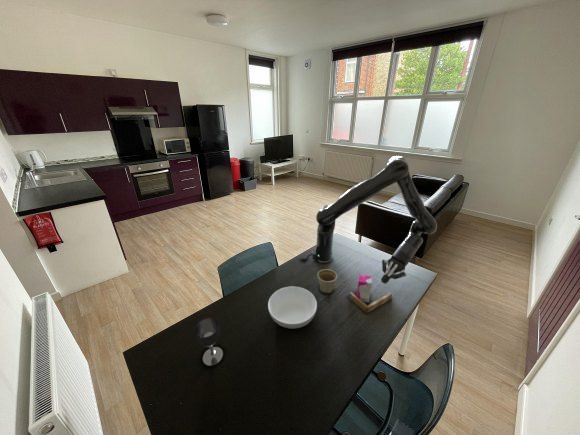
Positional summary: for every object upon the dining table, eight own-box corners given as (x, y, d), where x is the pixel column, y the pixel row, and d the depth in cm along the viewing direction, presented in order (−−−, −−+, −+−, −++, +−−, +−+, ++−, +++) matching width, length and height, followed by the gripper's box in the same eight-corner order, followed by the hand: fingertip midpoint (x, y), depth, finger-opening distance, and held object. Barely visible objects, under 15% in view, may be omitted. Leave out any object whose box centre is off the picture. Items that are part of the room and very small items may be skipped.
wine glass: (212, 371, 82) (205, 341, 76) (196, 359, 86) (189, 330, 80) (228, 352, 88) (223, 323, 82) (213, 342, 92) (208, 314, 86)
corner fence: (366, 313, 105) (367, 308, 103) (349, 298, 113) (349, 293, 112) (391, 298, 112) (392, 294, 111) (373, 285, 121) (374, 280, 120)
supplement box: (368, 294, 115) (372, 275, 110) (368, 303, 110) (372, 284, 105) (356, 292, 117) (359, 273, 112) (355, 300, 111) (358, 281, 107)
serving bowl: (258, 316, 104) (257, 304, 101) (291, 291, 117) (291, 280, 115) (294, 345, 91) (294, 333, 88) (326, 313, 105) (327, 302, 102)
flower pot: (314, 292, 116) (315, 278, 113) (319, 280, 124) (320, 267, 121) (333, 298, 113) (334, 283, 109) (337, 285, 121) (338, 271, 117)
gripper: (390, 243, 116) (368, 272, 115) (415, 257, 106) (392, 288, 105) (395, 249, 121) (374, 277, 120) (419, 263, 110) (397, 293, 110)
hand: (382, 282), depth 113 cm, fingers closed
